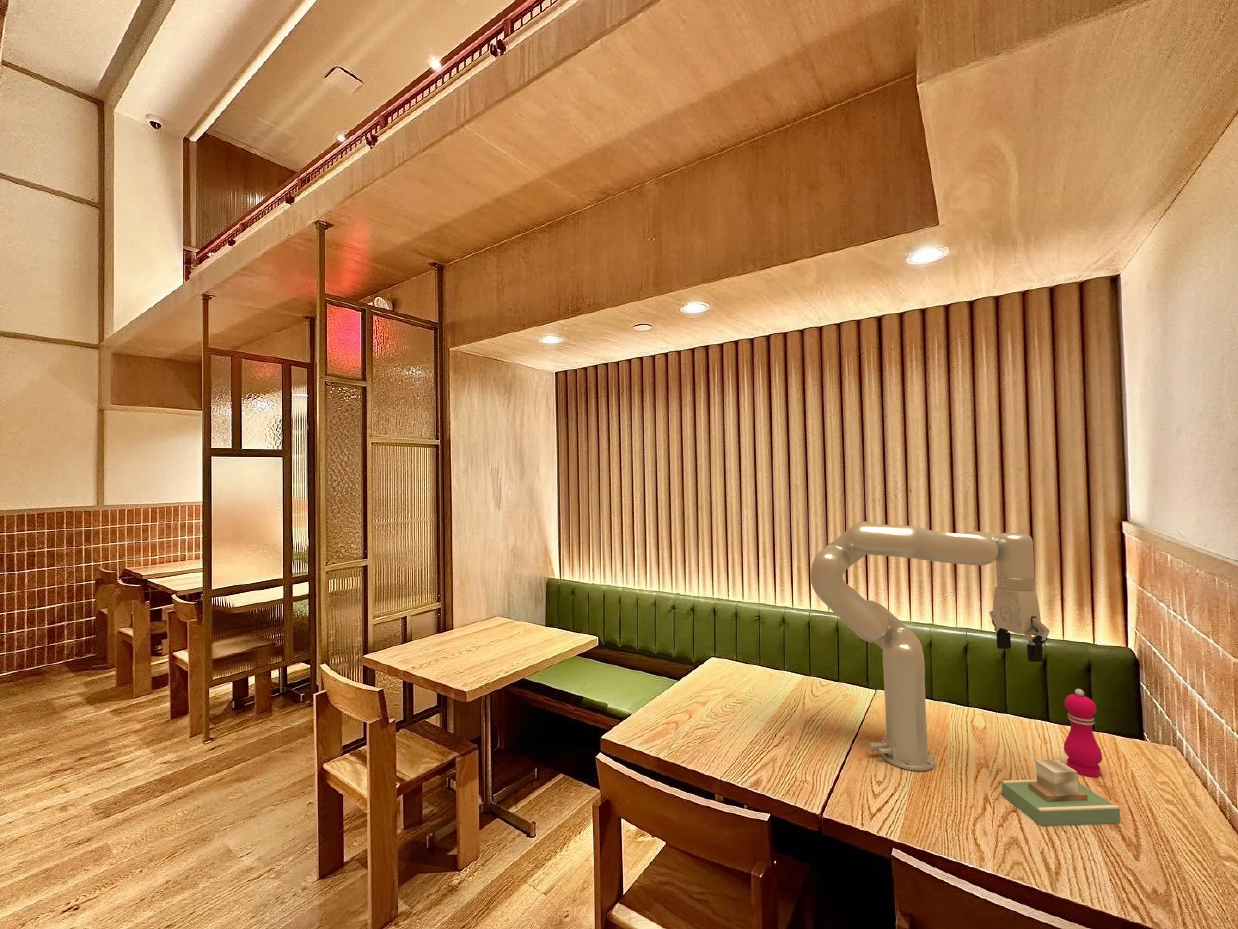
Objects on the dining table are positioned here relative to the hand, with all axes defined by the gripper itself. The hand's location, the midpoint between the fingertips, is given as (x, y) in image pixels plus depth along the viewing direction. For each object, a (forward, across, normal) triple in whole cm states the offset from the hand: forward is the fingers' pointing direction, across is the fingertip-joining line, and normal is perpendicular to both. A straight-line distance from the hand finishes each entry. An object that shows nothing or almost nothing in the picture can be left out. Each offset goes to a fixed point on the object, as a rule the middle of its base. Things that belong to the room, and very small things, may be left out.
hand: (1019, 654), depth 128 cm
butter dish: (+27, +10, -1) cm, 29 cm away
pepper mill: (+31, -4, +18) cm, 36 cm away
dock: (+30, +10, -1) cm, 32 cm away
